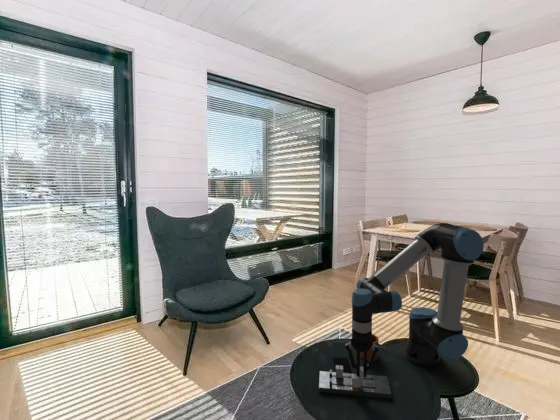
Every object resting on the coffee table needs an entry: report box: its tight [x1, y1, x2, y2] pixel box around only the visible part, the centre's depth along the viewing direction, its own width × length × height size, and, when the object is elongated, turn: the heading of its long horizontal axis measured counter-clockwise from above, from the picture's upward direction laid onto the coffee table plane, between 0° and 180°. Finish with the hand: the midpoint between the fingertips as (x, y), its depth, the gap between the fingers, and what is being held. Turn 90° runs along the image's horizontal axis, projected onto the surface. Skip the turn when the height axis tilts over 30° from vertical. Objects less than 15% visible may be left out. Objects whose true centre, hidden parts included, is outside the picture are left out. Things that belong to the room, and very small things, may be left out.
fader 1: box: [336, 365, 343, 378], centre depth 129 cm, size 3×2×4 cm
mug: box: [360, 333, 380, 362], centre depth 147 cm, size 9×12×9 cm
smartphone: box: [332, 357, 353, 374], centre depth 137 cm, size 7×1×15 cm
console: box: [318, 369, 393, 399], centre depth 126 cm, size 28×10×4 cm, turn 80°
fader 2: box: [352, 373, 360, 388], centre depth 123 cm, size 3×2×4 cm
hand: (361, 383), depth 122 cm, fingers closed
